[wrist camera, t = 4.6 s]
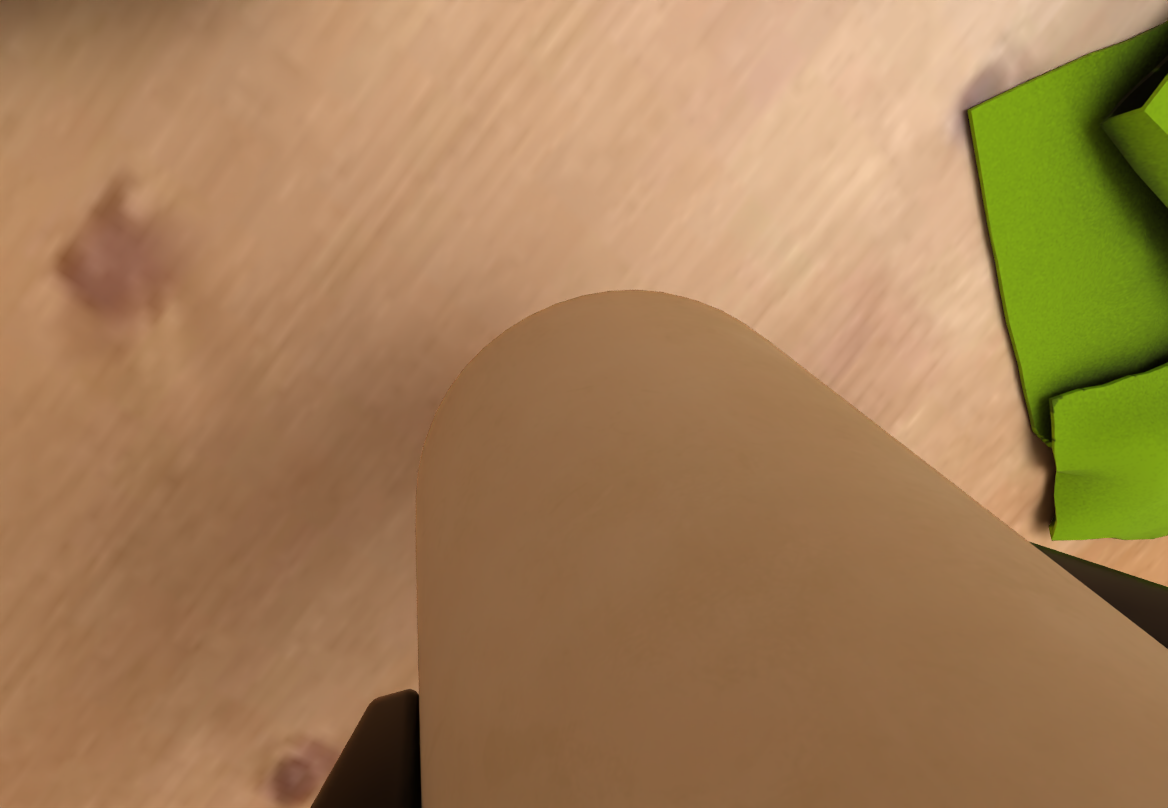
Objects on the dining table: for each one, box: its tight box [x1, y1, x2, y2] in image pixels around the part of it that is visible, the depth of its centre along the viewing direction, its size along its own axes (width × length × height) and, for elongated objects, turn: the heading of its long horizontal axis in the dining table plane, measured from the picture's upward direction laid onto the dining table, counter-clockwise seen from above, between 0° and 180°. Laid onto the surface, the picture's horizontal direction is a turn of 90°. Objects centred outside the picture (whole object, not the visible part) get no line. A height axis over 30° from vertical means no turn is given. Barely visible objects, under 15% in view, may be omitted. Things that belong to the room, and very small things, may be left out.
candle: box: [415, 290, 1168, 808], centre depth 6 cm, size 6×6×10 cm
